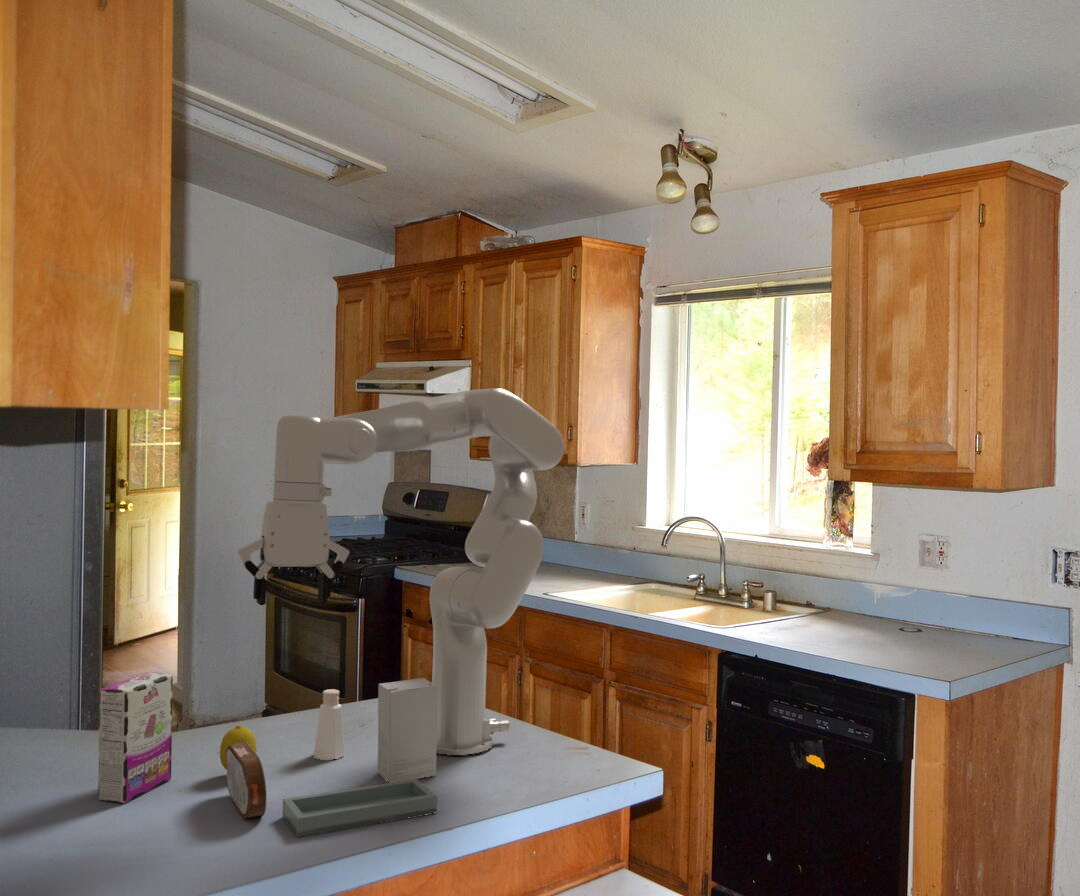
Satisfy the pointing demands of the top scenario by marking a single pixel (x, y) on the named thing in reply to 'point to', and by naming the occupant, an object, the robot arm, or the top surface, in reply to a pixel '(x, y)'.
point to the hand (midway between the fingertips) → (292, 603)
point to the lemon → (236, 741)
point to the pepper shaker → (329, 728)
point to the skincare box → (407, 729)
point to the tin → (246, 780)
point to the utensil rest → (357, 807)
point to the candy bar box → (135, 736)
